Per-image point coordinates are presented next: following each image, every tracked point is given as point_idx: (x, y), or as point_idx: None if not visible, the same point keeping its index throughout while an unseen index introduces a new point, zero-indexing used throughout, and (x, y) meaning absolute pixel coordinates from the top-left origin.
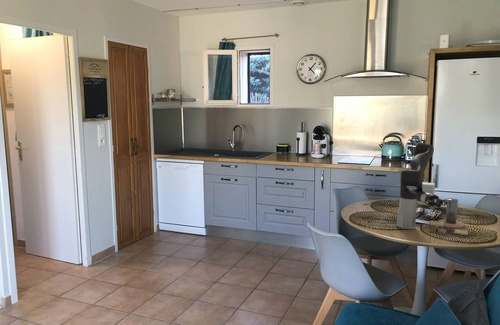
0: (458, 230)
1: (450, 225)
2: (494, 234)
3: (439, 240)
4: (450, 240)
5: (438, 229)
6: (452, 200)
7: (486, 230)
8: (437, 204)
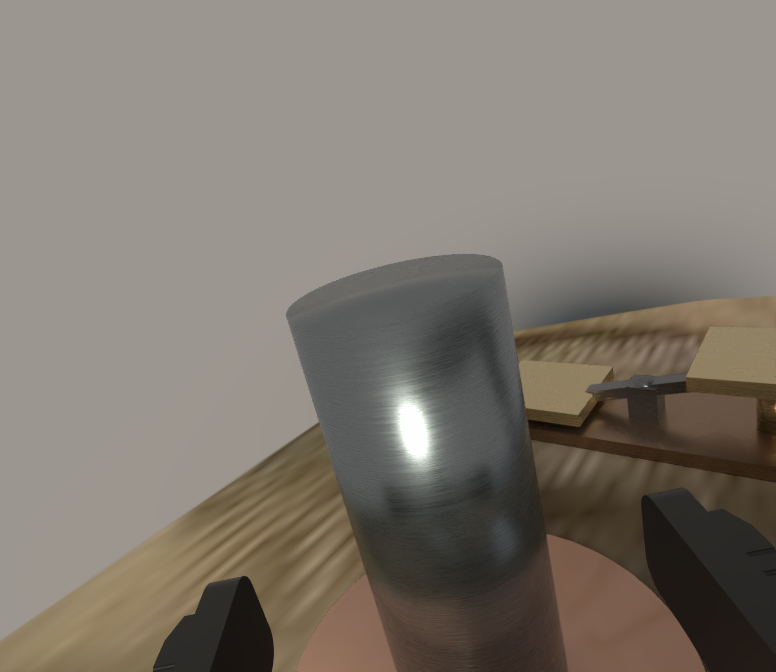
0: (558, 392)
1: (556, 543)
2: (281, 451)
3: (752, 322)
4: (670, 335)
5: (746, 442)
6: (449, 257)
7: (241, 518)
8: (761, 545)
